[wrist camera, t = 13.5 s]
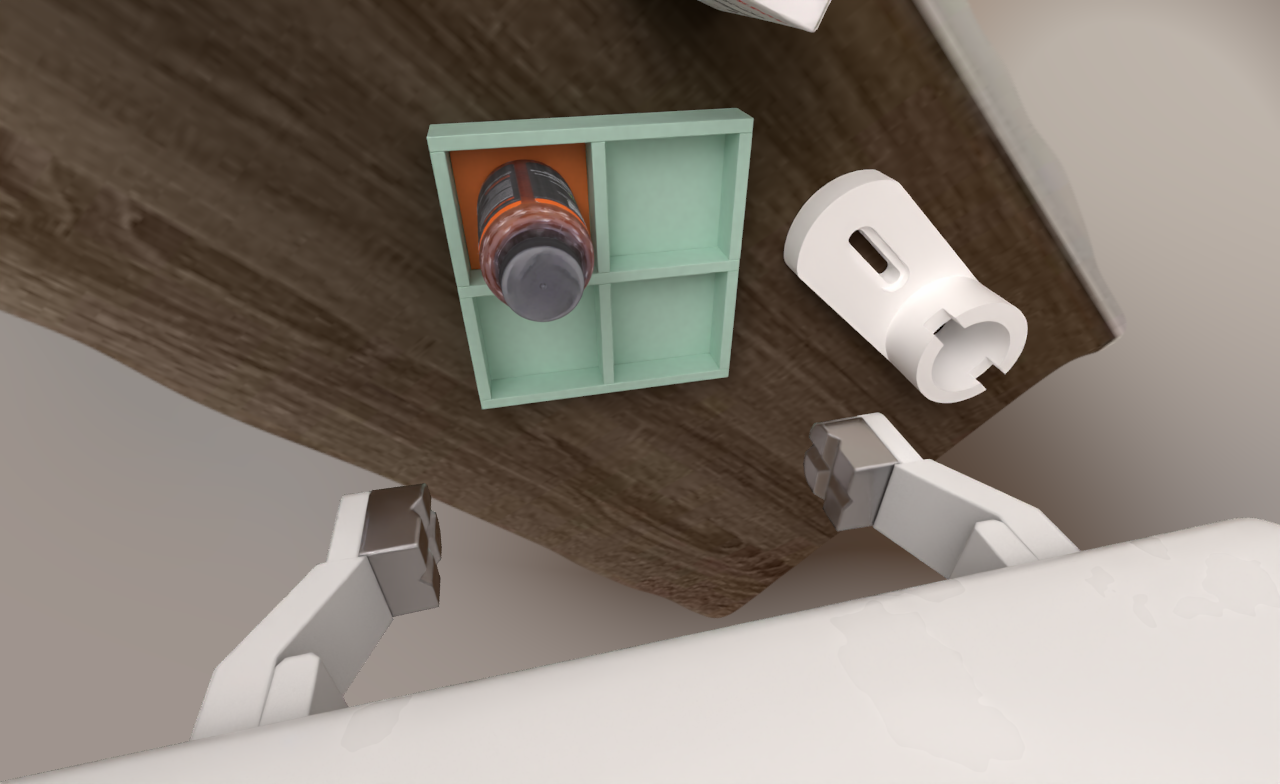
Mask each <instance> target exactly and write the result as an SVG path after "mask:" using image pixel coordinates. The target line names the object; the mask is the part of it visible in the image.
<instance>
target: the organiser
mask: <svg viewBox="0 0 1280 784" xmlns="http://www.w3.org/2000/svg"><path fill="white" fill-rule="evenodd" d="M753 121H754V118H752V117H751V116H749V115H748V114H746V113H744V112H743V111H741V110H739V109H738V108H724V109H706V110H688V111H669V112H651V113H633V114H615V115H596V116H578V117H560V118H541V119H523V120H505V121H486V122H468V123H450V124H432V125H430V126H429V131H428V134H427V143H428V148H429V151H430V157H431V162H432V167H433V172H434V177H435V182H436V187H437V191H438V196H439V201H440V206H441V211H442V216H443V221H444V226H445V231H446V236H447V240H448V245H449V250H450V255H451V260H452V265H453V270H454V275H455V280H456V284H457V289H458V294H459V298H460V304H461V309H462V314H463V319H464V324H465V329H466V334H467V338H468V343H469V348H470V353H471V358H472V363H473V368H474V373H475V378H476V382H477V387H478V392H479V397H480V402H481V407H482V409H489V408H497V407H505V406H512V405H520V404H527V403H535V402H542V401H550V400H557V399H565V398H573V397H580V396H588V395H595V394H603V393H610V392H618V391H625V390H633V389H641V388H648V387H656V386H663V385H671V384H678V383H686V382H693V381H701V380H709V379H716V378H724V377H728V374H729V364H730V354H731V344H732V334H733V323H734V313H735V303H736V293H737V283H738V272H739V271H738V270H739V262H740V260H739V259H740V254H741V244H742V234H743V223H744V213H745V203H746V193H747V183H748V173H749V162H750V152H751V142H752V131H753ZM524 159H525V160H535V161H539V162H542V163H544V164H546V165H548V166H550V167H551V168H553V169H554V170H556V171H557V172H558V173H559V174H560V175H561V176H562V177H563V178H564V180H565V181H566V183H567V184H568V186H569V188H570V189H571V191H572V193H573V196H574V198H575V201H576V203H577V206H578V208H579V210H580V213H581V215H582V218H583V220H584V222H585V225H586V227H587V229H588V232H589V235H590V238H591V241H592V244H593V249H594V268H593V273H592V275H591V279H590V281H589V283H588V285H587V286H586V288H585V289H584V291H583V295H582V298H581V299H580V301H579V303H578V304H577V306H576V307H575V308H574V309H573V310H572V311H571V312H570V313H568V314H567V315H566V316H564V317H562V318H560V319H556V320H553V321H549V322H537V321H531V320H528V319H525V318H523V317H521V316H519V315H518V314H516V313H515V312H514V311H513V310H512V309H511V308H510V307H509V306H507V305H506V304H504V303H503V302H502V301H500V300H499V299H498V298H497V297H496V296H495V295H494V294H493V293H492V291H491V290H490V289H489V287H488V286H487V284H486V283H485V281H484V278H483V276H482V272H481V269H480V263H479V247H478V222H477V201H478V196H479V192H480V189H481V186H482V184H483V183H484V181H485V179H486V178H487V177H488V176H489V174H490V173H491V172H492V171H494V170H495V169H496V168H498V167H499V166H501V165H502V164H504V163H507V162H510V161H514V160H524Z"/></svg>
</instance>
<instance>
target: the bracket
mask: <svg viewBox="0 0 1280 784" xmlns="http://www.w3.org/2000/svg"><path fill="white" fill-rule="evenodd" d="M856 230H858V231H859V232H860V233H861V234H862V235H863V236H864V237H865V238H866V239H867V240H868V241H869V243H870V244H871V245H872V246H873V247H874V248H875V249H876V250H877V251H878V252H879V253H880V255H881V256H882V257H883V258H884V259H885V260H886V261H887V263H888V266H887V268H886V270H885V271H884V272H883V273H880V274H878V273H877V272H876V271H875V270H874V269H873V268H872V267H871V266H870V265H869V264H868V262H867V261H866V260H865V259H864V258H863V257H862V256H861V255H860V254H859V253H858V252H857V251H856V250H855V249H854V248H853V247H852V246H851V245H850V243H849V237H850V236H851V234H852V233H853V232H854V231H856ZM784 260H785V263H786V264H787V265H788V266H789V268H790V269H791V270H792V271H793V272H794V273H795V274H796V275H797V276H798V277H799V278H800V279H801V280H802V281H803V282H804V283H805V284H807V285H808V286H809V287H810V288H811V289H812V290H813V291H814V292H815V293H816V294H817V295H818V296H820V297H821V298H822V299H823V300H824V301H825V302H826V303H827V304H828V305H829V306H830V307H831V308H833V309H834V310H835V311H836V312H837V313H838V314H839V315H840V316H841V317H842V318H843V319H844V320H846V321H847V322H848V323H849V324H850V325H851V326H852V327H853V328H854V329H855V330H856V331H857V332H859V333H860V334H861V335H862V336H863V337H864V338H865V339H866V340H867V341H868V342H869V343H870V344H872V345H873V346H874V347H875V348H876V349H877V350H878V351H879V352H880V353H881V354H882V355H883V356H885V357H886V358H887V359H888V360H889V361H890V362H891V363H892V364H893V365H894V366H895V367H896V368H897V369H898V370H899V371H900V372H901V373H902V374H903V375H904V376H905V377H906V378H907V379H908V380H909V381H910V382H911V383H912V384H913V385H914V386H915V387H916V388H917V389H918V390H919V391H920V392H921V393H922V394H923V395H924V396H925V397H926V398H928V399H929V400H932V401H935V402H939V403H953V402H959V401H963V400H966V399H969V398H971V397H974V396H976V395H978V394H980V393H981V392H983V391H985V390H986V389H985V388H984V386H983V385H982V384H981V383H980V382H978V381H977V380H976V379H975V378H977V377H978V376H980V375H981V374H982V373H984V372H985V371H986V370H987V369H988V368H989V367H990V366H991V365H992V364H993V365H995V366H996V367H997V368H998V369H1000V370H1001V371H1002V372H1003V373H1005V374H1006V373H1007V372H1008V371H1009V370H1010V368H1011V367H1012V366H1013V365H1014V363H1015V362H1016V360H1017V359H1018V357H1019V356H1020V354H1021V352H1022V350H1023V347H1024V345H1025V342H1026V338H1027V322H1026V319H1025V316H1024V315H1023V314H1022V312H1021V311H1020V310H1019V309H1018V308H1016V307H1015V306H1013V305H1012V304H1010V303H1009V302H1007V301H1006V300H1004V299H1003V298H1001V297H1000V296H998V295H997V294H995V293H994V292H992V291H991V290H989V289H988V288H986V287H985V286H983V285H982V284H980V283H979V282H978V281H977V279H976V278H975V277H974V276H973V274H972V273H971V272H970V271H969V269H968V268H967V267H966V266H965V264H964V263H963V262H962V261H961V259H960V258H959V257H958V256H957V254H956V253H955V252H954V251H953V249H952V248H951V247H950V246H949V244H948V243H947V242H946V241H945V239H944V238H943V237H942V236H941V234H940V233H939V232H938V231H937V229H936V228H935V227H934V226H933V224H932V223H931V222H930V221H929V219H928V218H927V217H926V216H925V214H924V213H923V212H922V211H921V209H920V208H919V207H918V206H917V204H916V203H915V202H914V201H913V199H912V198H911V197H910V196H909V194H908V193H907V192H906V191H905V189H904V188H903V187H902V186H901V185H900V183H898V182H897V181H895V180H893V179H892V178H890V177H888V176H886V175H884V174H883V173H881V172H879V171H877V170H859V171H854V172H850V173H848V174H845V175H842V176H840V177H838V178H836V179H834V180H832V181H831V182H829V183H827V184H826V185H825V186H823V187H822V188H821V189H819V190H818V191H817V192H816V193H815V194H814V195H813V196H812V197H811V198H810V199H809V200H808V201H807V202H806V203H805V204H804V205H803V207H802V208H801V210H800V211H799V212H798V214H797V216H796V217H795V219H794V221H793V223H792V225H791V227H790V230H789V232H788V235H787V238H786V242H785V247H784ZM944 323H946V324H945V325H944V326H943V328H942V329H941V330H940V331H939V332H938V333H937V334H935V335H934V334H933V333H934V332H935V331H936V330H937V329H938V328H939V327H941V326H942V325H943V324H944Z"/></svg>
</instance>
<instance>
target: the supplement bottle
mask: <svg viewBox="0 0 1280 784" xmlns="http://www.w3.org/2000/svg"><path fill="white" fill-rule="evenodd" d="M477 222H478V247H479V263H480V269H481V272H482V276H483V278H484V281H485V283H486V284H487V286H488V287H489V289H490V290H491V291H492V293H493V294H494V295H495V296H496V297H497V298H498V299H499V300H500V301H502V302H503V303H504V304H506V305H507V306H509V307H510V308H511V309H512V310H513V311H514V312H515V313H516V314H518V315H519V316H521V317H523V318H525V319H528V320H531V321H537V322H549V321H553V320H556V319H560V318H562V317H564V316H566V315H567V314H568V313H570V312H571V311H572V310H573V309H574V308H575V307H576V306H577V304H578V303H579V301H580V299H581V298H582V295H583V291H584V289H585V288H586V286H587V285H588V283H589V281H590V279H591V275H592V273H593V268H594V249H593V244H592V241H591V238H590V235H589V232H588V229H587V227H586V225H585V222H584V220H583V218H582V215H581V213H580V210H579V208H578V206H577V203H576V201H575V198H574V196H573V193H572V191H571V189H570V188H569V186H568V184H567V183H566V181H565V180H564V178H563V177H562V176H561V175H560V174H559V173H558V172H557V171H556V170H554V169H553V168H551V167H550V166H548V165H546V164H544V163H542V162H539V161H535V160H525V159H524V160H514V161H510V162H507V163H504V164H502V165H501V166H499V167H498V168H496V169H495V170H494V171H492V172H491V173H490V174H489V176H488V177H487V178H486V179H485V181H484V183H483V184H482V186H481V189H480V192H479V196H478V201H477Z"/></svg>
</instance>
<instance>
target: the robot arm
mask: <svg viewBox="0 0 1280 784" xmlns="http://www.w3.org/2000/svg"><path fill="white" fill-rule="evenodd" d="M809 438H810V440H811V441H812V443H813V445H812V446H811V447H810V448H809V449H808V450H807V451H806V452H805V457H804V463H803V466H804V474H805V478H806V481H807V483H808V485H809V487H810V489H811V491H812V492H813V494H815V495H817V496H819V497H820V498H822V499H824V504H823V510H824V511H825V513H826V515H827V516H828V518H829V519H830V521H831V523H832V524H833V526H834V527H835V529H836V530H837V531H842V530H848V529H855V528H861V527H867V526H873V525H874V526H873V527H874V528H875V529H876V530H878V531H879V532H881V533H882V534H883V535H885V536H886V537H888V538H889V539H891V540H892V541H893V542H895V543H896V544H898V545H899V546H901V547H902V548H904V549H905V550H906V551H908V552H909V553H911V554H912V555H914V556H915V557H916V558H918V559H919V560H921V561H923V562H924V563H925V564H927V565H928V566H929V567H931V568H932V569H934V570H935V571H937V572H938V573H939V574H941V575H942V576H944V577H945V578H947V579H948V580H944V581H939V582H934V583H930V584H925V585H920V586H915V587H911V588H906V589H901V590H897V591H892V592H887V593H882V594H878V595H873V596H869V597H864V598H859V599H854V600H850V601H845V602H841V603H836V604H831V605H826V606H822V607H817V608H813V609H808V610H803V611H798V612H794V613H789V614H784V615H780V616H775V617H771V618H765V619H761V620H756V621H752V622H747V623H742V624H737V625H733V626H728V627H723V628H718V629H714V630H709V631H704V632H700V633H695V634H691V635H686V636H681V637H676V638H671V639H667V640H662V641H658V642H653V643H648V644H643V645H638V646H634V647H629V648H624V649H620V650H615V651H610V652H605V653H601V654H596V655H591V656H587V657H583V658H578V659H573V660H568V661H563V662H559V663H554V664H549V665H544V666H540V667H535V668H530V669H526V670H522V671H516V672H512V673H507V674H503V675H497V676H493V677H488V678H483V679H479V680H474V681H469V682H465V683H460V684H455V685H450V686H446V687H441V688H436V689H432V690H427V691H423V692H418V693H413V694H408V695H404V696H399V697H394V698H389V699H385V700H380V701H375V702H371V703H366V704H361V705H357V706H352V707H348V705H347V704H346V702H345V700H344V698H343V696H344V694H345V692H346V691H347V690H348V688H349V686H350V685H351V683H352V682H353V680H354V679H355V677H356V676H357V674H358V673H359V671H360V670H361V668H362V667H363V665H364V664H365V662H366V660H367V659H368V657H369V656H370V654H371V653H372V651H373V650H374V648H375V647H376V645H377V644H378V642H379V640H380V639H381V637H382V636H383V635H384V633H385V632H386V630H387V628H388V627H389V625H390V624H391V622H392V621H393V617H395V616H399V615H404V614H408V613H413V612H418V611H422V610H427V609H431V608H436V607H439V596H440V575H439V572H438V569H437V563H438V562H439V561H440V560H441V548H442V546H441V534H440V528H439V522H438V518H437V515H436V512H434V511H432V510H431V495H430V492H429V489H428V486H427V485H426V484H425V483H424V484H417V485H409V486H401V487H394V488H386V489H379V490H372V491H369V492H361V493H352V494H345V495H344V496H343V497H342V499H341V500H340V504H339V508H338V512H337V516H336V520H335V524H334V529H333V533H332V537H331V542H330V546H329V551H328V555H327V559H326V563H321V564H317V565H316V566H315V567H314V568H313V569H312V570H311V571H310V572H309V573H308V574H307V575H306V576H305V577H304V578H303V579H302V580H301V581H300V582H299V583H298V584H297V585H296V586H295V587H294V588H293V589H292V591H291V592H290V593H289V594H288V595H287V596H286V597H285V598H284V599H283V600H282V601H281V602H280V603H279V604H278V605H277V606H276V607H275V608H274V609H273V610H272V611H271V612H270V613H269V614H268V615H267V616H266V617H265V618H264V619H263V620H262V621H261V622H260V623H259V624H258V625H257V626H256V627H255V628H254V629H253V630H252V631H251V633H249V634H248V635H247V636H246V637H245V639H244V640H242V642H241V643H240V644H239V645H238V646H237V647H236V648H235V649H234V650H233V651H232V652H231V653H230V654H229V655H228V656H227V657H226V658H225V659H224V660H223V661H222V662H221V663H220V664H219V665H218V666H217V667H216V668H215V669H214V672H213V675H212V677H211V680H210V684H209V686H208V689H207V692H206V695H205V698H204V700H203V703H202V706H201V709H200V712H199V714H198V718H197V720H196V723H195V726H194V729H193V732H192V734H191V737H190V740H189V741H188V742H183V743H178V744H174V745H169V746H164V747H160V748H155V749H150V750H146V751H141V752H136V753H131V754H127V755H122V756H117V757H113V758H109V759H103V760H99V761H95V762H90V763H85V764H80V765H76V766H71V767H66V768H61V769H57V770H52V771H47V772H43V773H38V774H34V775H29V776H24V777H19V778H15V779H10V780H5V781H1V782H0V784H1280V525H1278V524H1275V523H1272V522H1269V521H1265V520H1262V519H1258V518H1236V519H1230V520H1224V521H1220V522H1215V523H1210V524H1206V525H1201V526H1197V527H1192V528H1187V529H1183V530H1179V531H1174V532H1169V533H1164V534H1160V535H1155V536H1150V537H1146V538H1141V539H1136V540H1132V541H1127V542H1122V543H1118V544H1113V545H1109V546H1104V547H1099V548H1094V549H1090V550H1085V551H1080V550H1079V549H1078V548H1077V547H1076V546H1075V545H1074V544H1073V543H1072V542H1071V541H1070V540H1069V539H1068V538H1067V537H1066V536H1065V535H1064V534H1063V533H1062V532H1061V531H1060V530H1059V529H1058V528H1057V527H1056V526H1055V525H1054V524H1053V523H1052V522H1051V521H1050V520H1049V519H1048V518H1047V517H1046V516H1045V515H1044V514H1043V513H1042V512H1041V511H1040V510H1039V509H1038V508H1035V507H1033V506H1031V505H1029V504H1027V503H1024V502H1022V501H1020V500H1018V499H1016V498H1014V497H1011V496H1009V495H1007V494H1005V493H1003V492H1001V491H998V490H996V489H994V488H992V487H990V486H987V485H985V484H983V483H981V482H979V481H976V480H974V479H972V478H970V477H968V476H966V475H963V474H961V473H959V472H957V471H955V470H952V469H950V468H948V467H946V466H944V465H942V464H939V463H937V462H935V461H933V460H931V459H926V460H923V459H922V458H921V457H920V456H919V455H918V453H917V452H916V451H915V450H914V449H913V448H912V447H911V446H910V444H909V443H908V442H907V441H906V440H905V439H904V438H903V436H902V435H901V434H900V433H899V432H898V431H897V430H896V429H895V427H894V426H893V425H892V424H891V423H890V422H889V421H888V419H887V418H886V417H885V416H884V415H882V414H880V413H878V412H877V413H872V414H866V415H860V416H856V417H849V418H843V419H837V420H830V421H824V422H818V423H814V425H813V426H812V427H811V430H810V434H809Z"/></svg>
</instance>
